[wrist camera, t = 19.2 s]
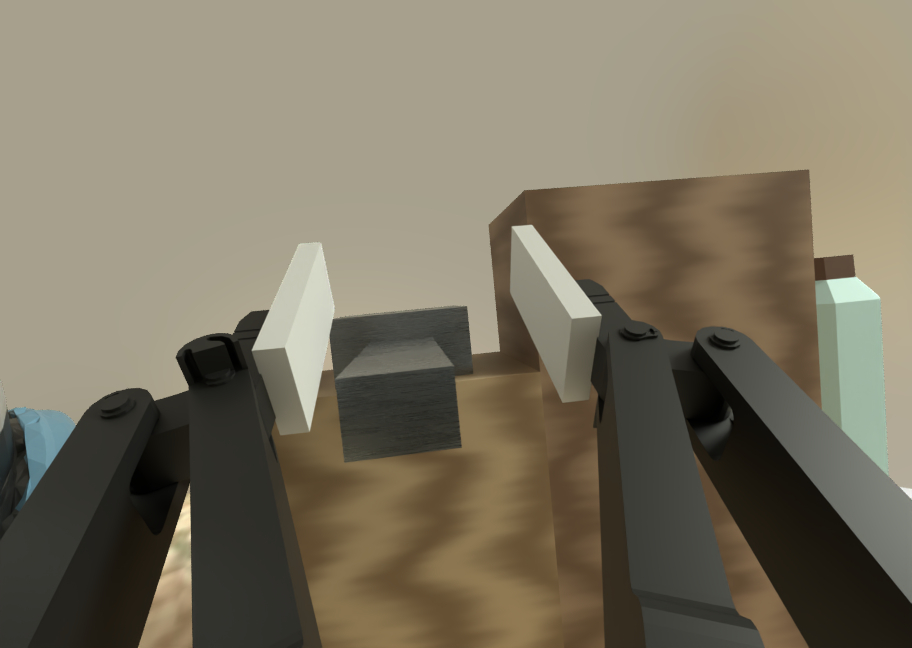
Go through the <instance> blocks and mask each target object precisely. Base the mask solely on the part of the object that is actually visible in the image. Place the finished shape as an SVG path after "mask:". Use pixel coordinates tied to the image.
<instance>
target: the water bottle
mask: <svg viewBox="0 0 912 648" xmlns="http://www.w3.org/2000/svg"><path fill="white" fill-rule="evenodd" d="M814 271H815V290H816V308H817V327H818V346H819V364H820V383H821V402H822V410H823V411H824V412H825V413H826V414H827V415H828V416H829V417H830V418H831V419H832V420H833V421H834V422H835V423H836V424H837V425H838V426H839V427H840V428H841V429H842V430H843V431H844V432H845V433H846V434H847V435H848V436H849V437H850V438H851V439H852V440H853V441H854V442H855V443H856V444H857V445H858V446H859V447H860V448H861V449H862V450H863V451H864V452H865V453H866V454H867V455H868V456H869V457H870V458H871V459H872V460H873V461H874V462H875V463H876V464H877V465H878V466H879V467H880V468H881V469H882V470H883V471H884V472H885V473H886V474H887V475H888V453H887V431H886V409H885V387H884V369H883V368H884V365H883V343H882V322H881V300H880V297H879V296H878V295H877V294H876V293H875V292H873V291H872V290H871V289H870V288H869V287H868V286H866V285H865V284H864V283H863V282H862V281H860V280H859V279H858V278H857V277H856V276H855V268H854V259H853V255H845V256H836V257H835V256H834V257H824V258H814ZM888 476H889V475H888Z"/></svg>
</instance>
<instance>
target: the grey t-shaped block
mask: <svg viewBox="0 0 912 648" xmlns="http://www.w3.org/2000/svg"><path fill="white" fill-rule="evenodd" d="M330 344H331V353H332V362H333V371H334V380H335V389H336V392H337V401H338V410H339V419H340V428H341V437H342V446H343V455H344V463H347V462H355V461H362V460H370V459H378V458H386V457H393V456H401V455H409V454H416V453H424V452H432V451H440V450H447V449H455V448H462V445H461V434H460V424H459V414H458V403H457V393H456V383H455V376H459V375H468V374H473V364H472V354H471V343H470V333H469V322H468V312H467V306H446V307H435V308H425V309H415V310H405V311H395V312H384V313H374V314H364V315H354V316H345V317H340V318H335V319H333V321H332V325H331V330H330Z"/></svg>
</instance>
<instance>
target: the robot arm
mask: <svg viewBox="0 0 912 648" xmlns="http://www.w3.org/2000/svg"><path fill="white" fill-rule="evenodd" d="M510 293H511V295H512V298H513V300H514V302H515V304H516V306H517V308H518V310H519V312H520V314H521V316H522V319H523V321H524V323H525V325H526V327H527V329H528V331H529V333H530V335H531V338H532V340H533V342H534V344H535V346H536V348H537V350H538V352H539V354H540V356H541V359H542V361H543V363H544V365H545V367H546V369H547V371H548V373H549V375H550V377H551V380H552V382H553V384H554V386H555V388H556V390H557V392H558V394H559V396H560V398H561V401H562V403H565V402H574V401H583V400H589V397H590V391H591V384H593V386H594V388H595V390H596V391H597V393H598V398H597V404H596V410H595V416H594V423H593V428H597V447H598V475H599V502H600V529H601V557H602V584H603V611H604V639H605V648H765V646H764V644H763V641H762V638H761V636H760V633H759V631H758V629H757V628H756V626H755V625H754V623H753V622H752V621H751V620H750V619H748V618H746V617H743V616H741V615H739V613H738V612H737V610H736V609H735V606H734V603H733V600H732V596H731V593H730V589H729V585H728V581H727V578H726V574H725V570H724V566H723V562H722V559H721V555H720V551H719V547H718V543H717V540H716V536H715V532H714V528H713V524H712V521H711V517H710V513H709V509H708V505H707V502H706V498H705V494H704V490H703V487H702V483H701V479H700V475H699V471H698V468H697V464H696V460H695V456H694V453H695V455H696V456H697V458H698V460H699V461H700V463H701V465H702V466H703V468H704V470H705V472H706V473H707V475H708V477H709V478H710V480H711V482H712V483H713V485H714V487H715V489H716V490H717V492H718V494H719V495H720V497H721V499H722V500H723V502H724V504H725V506H726V507H727V509H728V511H729V512H730V514H731V516H732V517H733V519H734V521H735V523H736V524H737V526H738V528H739V529H740V531H741V533H742V534H743V536H744V538H745V540H746V541H747V543H748V545H749V546H750V548H751V550H752V551H753V553H754V555H755V557H756V558H757V560H758V562H759V563H760V565H761V567H762V568H763V570H764V572H765V573H766V575H767V577H768V579H769V580H770V582H771V584H772V585H773V587H774V589H775V590H776V592H777V594H778V596H779V597H780V599H781V601H782V602H783V604H784V606H785V607H786V609H787V611H788V613H789V614H790V616H791V618H792V619H793V621H794V623H795V624H796V626H797V628H798V630H799V631H800V633H801V635H802V636H803V638H804V640H805V641H806V643H807V645H808V647H809V648H912V500H911V499H910V498H909V497H908V496H907V495H906V494H905V493H904V492H903V491H902V490H901V489H900V488H899V487H898V486H897V485H896V484H895V483H894V482H893V480H892V479H891V478H889V476H888V475H887V474H886V473H885V472H884V471H883V470H882V469H881V468H880V467H879V466H878V465H877V464H876V463H875V462H874V461H873V460H872V459H871V458H870V457H869V456H868V455H867V454H866V453H865V452H864V451H863V450H862V449H861V448H860V447H859V446H858V445H857V444H856V443H855V442H854V441H853V440H852V439H851V438H850V437H849V436H848V435H847V434H846V433H845V432H844V431H843V430H842V429H841V428H840V427H839V426H838V425H837V424H836V423H835V422H834V421H833V420H832V419H831V418H830V417H829V416H828V415H827V414H826V413H825V412H824V411H823V410H822V409H821V408H820V407H819V406H818V405H817V404H816V403H815V402H814V401H813V400H812V399H811V398H810V397H809V396H808V395H807V394H806V393H805V392H804V391H803V390H802V389H801V388H800V387H799V386H798V385H797V384H796V383H795V382H794V381H793V380H792V379H791V378H790V377H789V376H788V375H787V374H786V373H785V372H784V371H783V370H782V369H781V368H780V367H779V366H778V365H777V364H776V363H775V362H774V361H773V360H772V359H771V358H770V357H769V356H768V355H767V354H766V353H765V352H764V351H763V350H762V349H761V348H760V347H759V346H758V345H757V344H756V343H755V342H754V341H753V340H752V339H750V338H749V337H748V336H746V335H745V334H743V333H741V332H738V331H736V330H734V329H731V328H727V327H716V326H710V327H704V328H702V329H700V330H698V331H697V333H696V336H695V339H694V342H686V341H674V340H667V339H663V335H662V334H661V332H660V331H659V330H658V329H657V328H655V327H654V326H652V325H650V324H647V323H645V322H641V321H635V320H631V318H630V317H629V316H628V315H627V314H626V313H625V311H624V310H623V309H622V308H621V307H620V306H619V305H618V303H617V302H615V300H614V299H613V298H612V296H609V293H608V292H607V291H606V289H605V288H604V287H603V286H602V285H600V284H598V283H596V282H594V281H593V280H591V279H583V280H574V279H573V278H572V276H571V275H570V274H569V272H568V271H567V270H566V268H565V267H564V266H563V265H562V263H561V262H560V261H559V259H558V258H557V257H556V255H555V254H554V253H553V252H552V250H551V249H550V248H549V246H548V245H547V244H546V242H545V241H544V240H543V238H542V237H541V236H540V235H539V233H538V232H537V231H536V229H535V228H534V227H533V225H523V226H512V235H511V273H510ZM334 311H335V307H334V303H333V297H332V293H331V288H330V283H329V278H328V273H327V269H326V264H325V259H324V254H323V249H322V245H321V242H317V243H304V244H299V245H298V248H297V250H296V252H295V254H294V257H293V259H292V261H291V263H290V266H289V268H288V270H287V272H286V274H285V277H284V279H283V281H282V283H281V286H280V288H279V290H278V292H277V295H276V297H275V299H274V302H273V304H272V306H271V308H270V310H263V311H253V312H250V313H249V314H248V315H247V316H245V317H244V318H243V319H242V320H241V321H240V322H239V324H238V325H237V327H236V329H235V331H234V332H235V333H233V335H231V334H228V333H227V334H226V333H216V334H210V335H206V336H203V337H200V338H197V339H195V340H193V341H191V342H189V343H187V344H186V345H184V346H183V347H182V348H181V349H180V350H179V351H178V353H177V356H176V359H177V361H178V364H179V366H180V368H181V370H182V372H183V375H184V377H185V379H186V381H187V383H188V385H189V390H188V391H185V392H182V393H179V394H177V395H173V396H170V397H166V398H163V399H160V400H156V401H154V400H153V398H152V396H151V394H150V393H149V392H148V391H147V390H145V389H141V388H131V389H126V390H122V391H116V392H114V393H111V394H110V395H107V396H105V397H103V398H102V399H100V400H99V401H97V402H96V403H94V404H93V405H91V407H90V408H89V409H88V410H87V411H86V412H85V413H84V415H83V416H82V417H81V419H80V421H79V422H78V424H77V425H75V424H74V422H73V421H72V419H71V418H70V417H68V416H67V415H66V414H65V413H62V412H60V411H54V410H34V409H27V408H26V407H24V408H14V409H11V410H7V404H6V397H5V393H4V389H3V385H2V382H1V380H0V648H138V646H139V642H140V639H141V636H142V633H143V630H144V627H145V623H146V620H147V617H148V614H149V611H150V608H151V604H152V601H153V598H154V595H155V592H156V589H157V585H158V582H159V579H160V576H161V573H162V570H163V566H164V563H165V560H166V557H167V554H168V551H169V547H170V544H171V541H172V538H173V535H174V532H175V528H176V525H177V522H178V519H179V516H180V512H181V509H182V506H183V503H184V500H185V497H186V493H187V490H188V487H189V484H190V506H191V571H192V636H193V648H322V643H321V639H320V635H319V630H318V626H317V622H316V618H315V613H314V609H313V605H312V600H311V596H310V592H309V587H308V583H307V579H306V575H305V570H304V566H303V562H302V557H301V553H300V549H299V544H298V540H297V536H296V532H295V527H294V523H293V519H292V514H291V510H290V506H289V501H288V497H287V493H286V489H285V484H284V480H283V476H282V471H281V467H280V463H279V458H278V454H277V450H276V446H275V442H274V440H273V437H272V434H271V432H272V429H273V426H274V422H275V421H276V424H277V427H278V430H279V433H280V435H288V434H297V433H306V432H310V428H311V423H312V418H313V413H314V408H315V403H316V399H317V394H318V389H319V384H320V379H321V374H322V369H323V364H324V359H325V355H326V349H327V344H328V340H329V335H330V330H331V325H332V321H333V315H334ZM693 451H694V452H693Z"/></svg>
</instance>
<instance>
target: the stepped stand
mask: <svg viewBox="0 0 912 648" xmlns="http://www.w3.org/2000/svg"><path fill="white" fill-rule="evenodd" d="M523 225H533V227H534V228H535V229H536V231H537V232H538V233H539V235H540V236H541V237H542V238H543V240H544V241H545V242H546V244H547V245H548V246H549V248H550V249H551V250H552V252H553V253H554V254H555V255H556V257H557V258H558V259H559V261H560V262H561V263H562V265H563V266H564V267H565V268H566V270H567V271H568V272H569V274H570V275H571V276H572V278H573V279H574V280H583V279H591V280H593V281H594V282H596V283H598V284H600V285H602V286H603V287H604V288H605V289H606V291H607V292H608V293H609V296H612V298H613V299H614V300H615V302H617V303H618V305H619V306H620V307H621V308H622V309H623V310H624V311H625V313H626V314H627V315H628V316H629V317H630V318H631V320H635V321H641V322H645V323H647V324H650V325H652V326H654V327H655V328H657V329H658V330H659V331H660V332H661V334H662V335H663V339H667V340H674V341H686V342H694V339H695V336H696V333H697V331H698V330H700V329H702V328H704V327H710V326H716V327H727V328H731V329H734V330H736V331H738V332H741V333H743V334H745V335H746V336H748V337H749V338H750V339H752V340H753V341H754V342H755V343H756V344H757V345H758V346H759V347H760V348H761V349H762V350H763V351H764V352H765V353H766V354H767V355H768V356H769V357H770V358H771V359H772V360H773V361H774V362H775V363H776V364H777V365H778V366H779V367H780V368H781V369H782V370H783V371H784V372H785V373H786V374H787V375H788V376H789V377H790V378H791V379H792V380H793V381H794V382H795V383H796V384H797V385H798V386H799V387H800V388H801V389H802V390H803V391H804V392H805V393H806V394H807V395H808V396H809V397H810V398H811V399H812V400H813V401H814V402H815V403H816V404H817V405H818V406H819V407H820V408H821V409H822V402H821V383H820V364H819V346H818V327H817V308H816V290H815V271H814V253H813V234H812V215H811V197H810V179H809V170H798V171H784V172H770V173H757V174H743V175H729V176H716V177H702V178H688V179H675V180H661V181H647V182H635V183H620V184H607V185H593V186H579V187H566V188H552V189H538V190H524V191H523V192H522V193H521V194H520V195H519V196H518V197H517V198H516V199H515V200H514V201H513V202H512V203H511V204H510V205H509V206H508V207H507V208H506V209H505V210H504V211H503V212H502V213H501V214H500V215H499V216H498V217H497V218H496V219H494V220H493V221H492V222H491V223H490V224H489V233H490V245H491V255H492V267H493V277H494V288H495V300H496V310H497V321H498V332H499V343H500V352H492V353H483V354H473V355H472V364H473V374H468V375H459V376H455V383H456V393H457V403H458V414H459V424H460V434H461V445H462V448H455V449H447V450H440V451H432V452H424V453H416V454H409V455H401V456H393V457H386V458H378V459H370V460H362V461H355V462H347V463H344V455H343V446H342V437H341V428H340V419H339V410H338V401H337V392H336V389H335V380H334V371H333V370H327V371H322V374H321V379H320V384H319V389H318V394H317V399H316V403H315V408H314V413H313V418H312V423H311V428H310V432H306V433H297V434H288V435H280V433H279V430H278V427H277V424H276V421H275V422H274V426H273V429H272V432H271V434H272V437H273V440H274V442H275V446H276V450H277V454H278V458H279V463H280V467H281V471H282V476H283V480H284V484H285V489H286V493H287V497H288V501H289V506H290V510H291V514H292V519H293V523H294V527H295V532H296V536H297V540H298V544H299V549H300V553H301V557H302V562H303V566H304V570H305V575H306V579H307V583H308V587H309V592H310V596H311V600H312V605H313V609H314V613H315V618H316V622H317V626H318V630H319V635H320V639H321V643H322V648H605V639H604V611H603V584H602V557H601V529H600V502H599V475H598V447H597V428H593V423H594V416H595V410H596V404H597V398H598V393H597V391H596V390H595V388H594V386H593V384H591V391H590V397H589V400H583V401H574V402H565V403H562V401H561V398H560V396H559V394H558V392H557V390H556V388H555V386H554V384H553V382H552V380H551V377H550V375H549V373H548V371H547V369H546V367H545V365H544V363H543V361H542V359H541V356H540V354H539V352H538V350H537V348H536V346H535V344H534V342H533V340H532V338H531V335H530V333H529V331H528V329H527V327H526V325H525V323H524V321H523V319H522V316H521V314H520V312H519V310H518V308H517V306H516V304H515V302H514V300H513V298H512V295H511V293H510V273H511V235H512V226H523ZM693 452H694V451H693ZM694 456H695V460H696V464H697V468H698V471H699V475H700V479H701V483H702V487H703V490H704V494H705V498H706V502H707V505H708V509H709V513H710V517H711V521H712V524H713V528H714V532H715V536H716V540H717V543H718V547H719V551H720V555H721V559H722V562H723V566H724V570H725V574H726V578H727V581H728V585H729V589H730V593H731V596H732V600H733V603H734V606H735V609H736V610H737V612H738V613H739V615H741V616H743V617H746V618H748V619H750V620H751V621H752V622H753V623H754V625H755V626H756V628H757V629H758V631H759V633H760V636H761V638H762V641H763V644H764V646H765V648H809V647H808V645H807V643H806V641H805V640H804V638H803V636H802V635H801V633H800V631H799V630H798V628H797V626H796V624H795V623H794V621H793V619H792V618H791V616H790V614H789V613H788V611H787V609H786V607H785V606H784V604H783V602H782V601H781V599H780V597H779V596H778V594H777V592H776V590H775V589H774V587H773V585H772V584H771V582H770V580H769V579H768V577H767V575H766V573H765V572H764V570H763V568H762V567H761V565H760V563H759V562H758V560H757V558H756V557H755V555H754V553H753V551H752V550H751V548H750V546H749V545H748V543H747V541H746V540H745V538H744V536H743V534H742V533H741V531H740V529H739V528H738V526H737V524H736V523H735V521H734V519H733V517H732V516H731V514H730V512H729V511H728V509H727V507H726V506H725V504H724V502H723V500H722V499H721V497H720V495H719V494H718V492H717V490H716V489H715V487H714V485H713V483H712V482H711V480H710V478H709V477H708V475H707V473H706V472H705V470H704V468H703V466H702V465H701V463H700V461H699V460H698V458H697V456H696V455H695V453H694Z"/></svg>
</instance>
